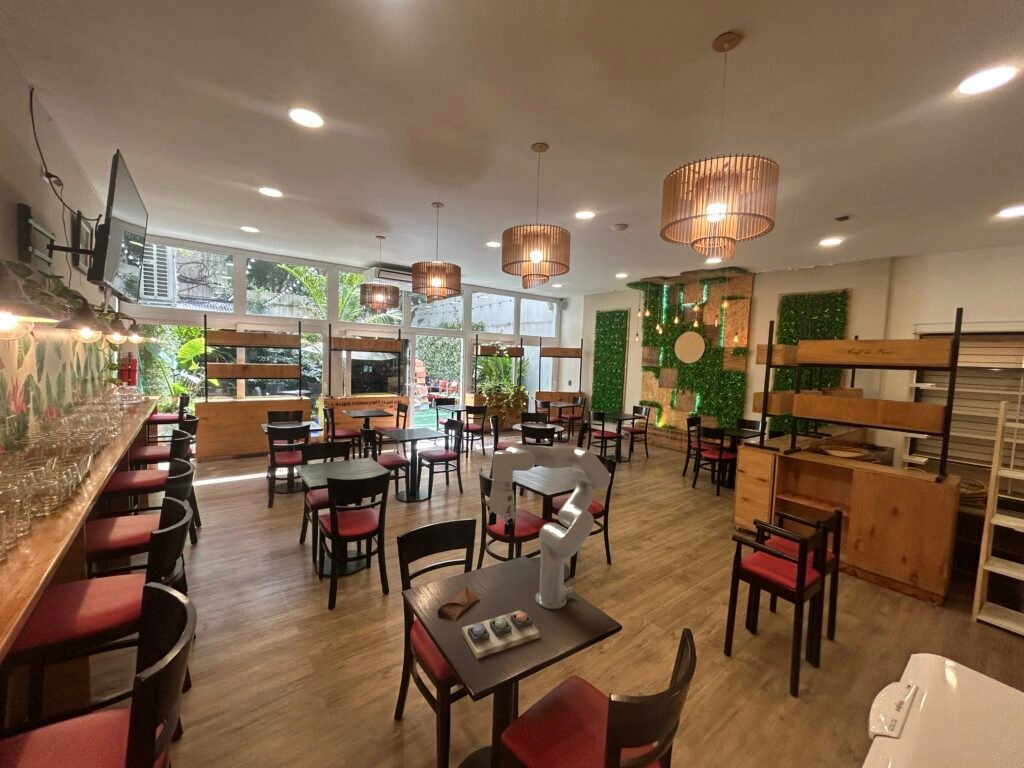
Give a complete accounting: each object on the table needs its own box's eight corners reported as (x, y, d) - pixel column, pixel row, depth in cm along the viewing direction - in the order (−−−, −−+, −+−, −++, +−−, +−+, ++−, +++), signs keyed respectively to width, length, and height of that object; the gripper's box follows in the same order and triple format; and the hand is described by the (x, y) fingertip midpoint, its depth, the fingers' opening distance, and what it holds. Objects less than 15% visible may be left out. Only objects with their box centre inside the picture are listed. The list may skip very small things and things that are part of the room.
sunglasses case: (455, 622, 153) (448, 604, 154) (442, 626, 156) (435, 608, 157) (482, 598, 169) (475, 582, 170) (469, 602, 172) (463, 586, 173)
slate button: (481, 629, 146) (481, 623, 145) (486, 636, 142) (486, 630, 142) (470, 632, 144) (471, 626, 144) (475, 639, 140) (475, 633, 140)
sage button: (503, 622, 150) (503, 617, 149) (508, 629, 146) (508, 623, 146) (493, 625, 148) (493, 620, 148) (498, 632, 144) (498, 626, 144)
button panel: (520, 614, 159) (520, 604, 159) (539, 637, 147) (539, 626, 146) (461, 632, 148) (461, 622, 147) (476, 658, 135) (477, 647, 135)
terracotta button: (523, 616, 154) (523, 611, 153) (528, 622, 150) (529, 617, 150) (514, 619, 152) (514, 613, 152) (519, 625, 148) (519, 620, 148)
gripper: (524, 489, 148) (522, 535, 149) (496, 476, 162) (494, 519, 163) (508, 492, 144) (506, 540, 145) (480, 479, 157) (478, 523, 158)
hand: (500, 529), depth 154 cm, fingers open, 9 cm apart
